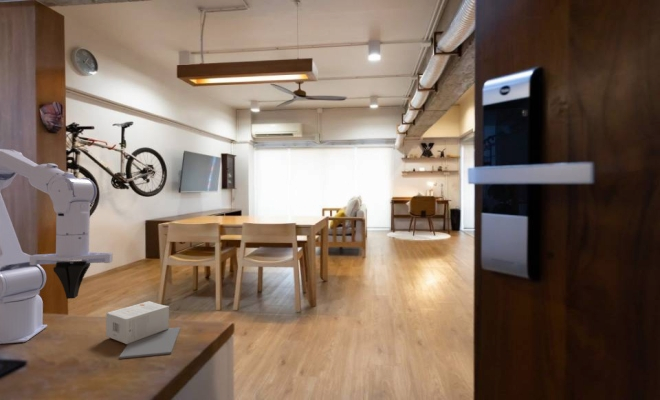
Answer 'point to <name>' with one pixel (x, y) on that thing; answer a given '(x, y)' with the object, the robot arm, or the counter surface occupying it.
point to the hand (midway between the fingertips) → (72, 297)
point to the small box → (137, 321)
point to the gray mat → (152, 344)
